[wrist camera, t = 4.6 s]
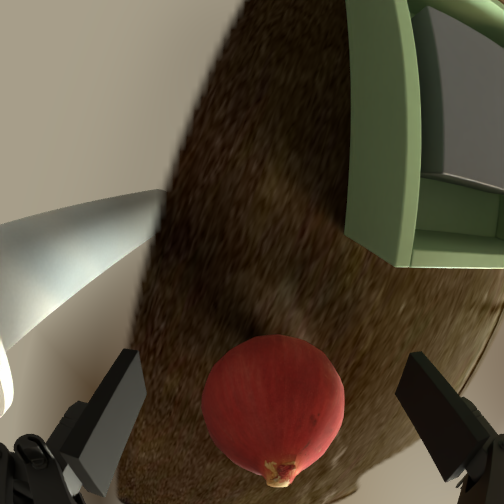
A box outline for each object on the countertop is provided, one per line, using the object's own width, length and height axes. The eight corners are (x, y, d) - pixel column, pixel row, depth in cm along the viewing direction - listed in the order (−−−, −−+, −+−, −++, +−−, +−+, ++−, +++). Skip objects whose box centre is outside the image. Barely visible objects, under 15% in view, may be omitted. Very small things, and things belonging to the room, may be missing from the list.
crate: (343, 234, 13) (394, 267, 8) (343, -10, 10) (376, -63, 5) (493, 245, 13) (549, 268, 8) (489, 50, 10) (538, 34, 5)
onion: (337, 367, 15) (387, 482, 7) (247, 407, 15) (249, 526, 8) (293, 283, 13) (343, 405, 6) (189, 336, 14) (150, 466, 6)
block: (390, 172, 12) (442, 174, 8) (386, 38, 10) (427, 4, 6) (487, 192, 12) (537, 201, 8) (483, 78, 10) (528, 67, 6)
